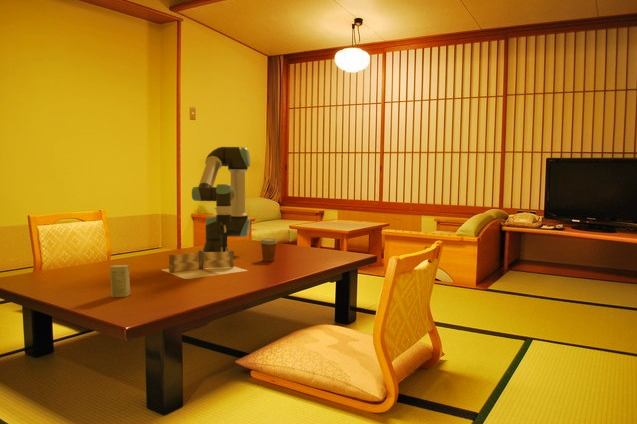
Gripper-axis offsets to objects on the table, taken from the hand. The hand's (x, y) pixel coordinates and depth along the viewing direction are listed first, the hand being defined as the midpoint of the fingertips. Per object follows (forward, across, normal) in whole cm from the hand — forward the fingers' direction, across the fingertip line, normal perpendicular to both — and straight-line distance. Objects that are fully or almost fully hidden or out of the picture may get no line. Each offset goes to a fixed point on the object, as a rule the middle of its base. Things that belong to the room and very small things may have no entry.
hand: (223, 259), depth 260 cm
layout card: (+5, +6, -10) cm, 13 cm away
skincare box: (+4, +49, -47) cm, 68 cm away
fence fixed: (+4, +5, -19) cm, 20 cm away
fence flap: (+4, +2, -3) cm, 5 cm away
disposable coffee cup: (+5, -16, +27) cm, 32 cm away
